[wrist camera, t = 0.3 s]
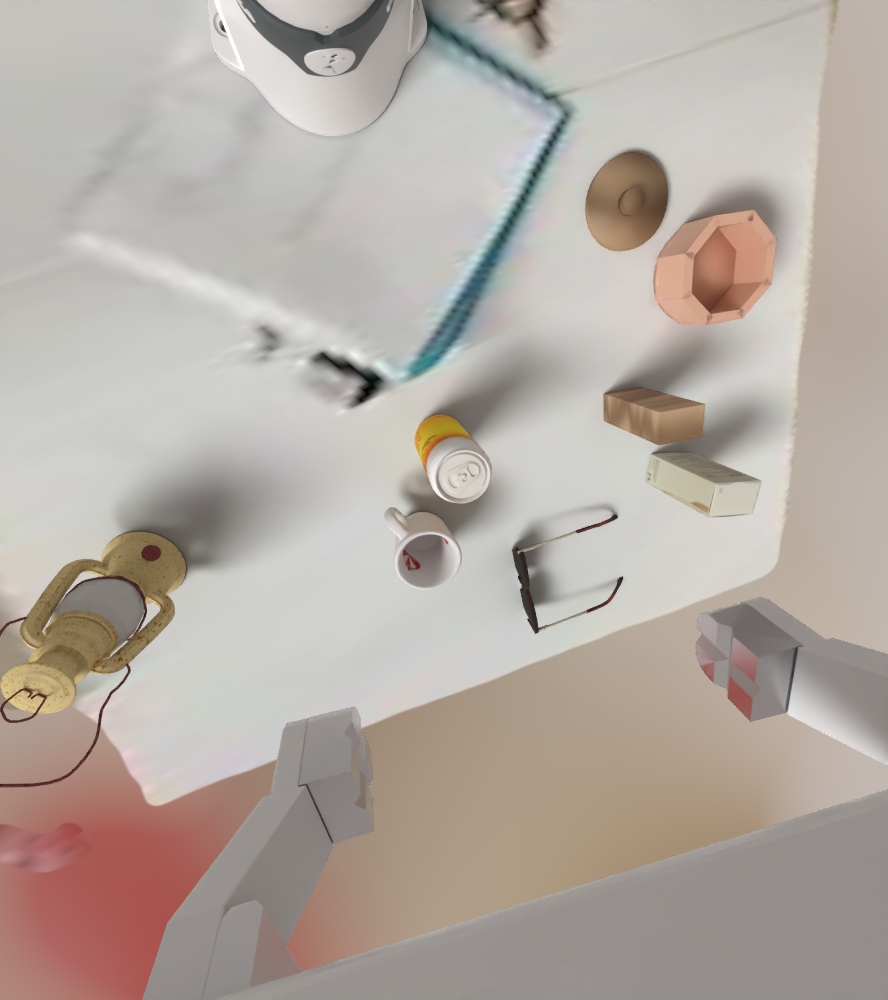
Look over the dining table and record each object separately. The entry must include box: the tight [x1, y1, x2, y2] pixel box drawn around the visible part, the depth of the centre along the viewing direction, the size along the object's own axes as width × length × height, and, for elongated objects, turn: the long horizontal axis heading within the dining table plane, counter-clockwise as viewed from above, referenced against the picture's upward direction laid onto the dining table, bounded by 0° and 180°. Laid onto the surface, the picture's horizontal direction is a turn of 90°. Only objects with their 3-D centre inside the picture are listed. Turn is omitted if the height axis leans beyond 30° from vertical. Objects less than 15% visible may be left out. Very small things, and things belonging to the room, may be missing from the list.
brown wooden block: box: [604, 387, 705, 445], centre depth 53 cm, size 4×5×12 cm
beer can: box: [415, 414, 492, 503], centre depth 50 cm, size 6×6×15 cm
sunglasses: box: [512, 516, 623, 634], centre depth 65 cm, size 14×16×5 cm
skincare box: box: [647, 452, 762, 517], centre depth 58 cm, size 6×4×12 cm
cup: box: [384, 507, 462, 590], centre depth 57 cm, size 11×8×8 cm
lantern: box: [0, 532, 186, 787], centre depth 43 cm, size 12×10×30 cm
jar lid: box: [585, 152, 668, 251], centre depth 49 cm, size 9×9×2 cm
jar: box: [653, 210, 777, 325], centre depth 52 cm, size 11×11×6 cm
